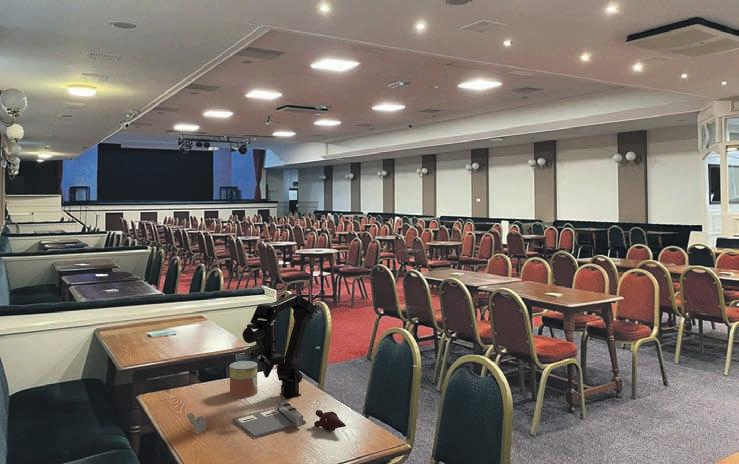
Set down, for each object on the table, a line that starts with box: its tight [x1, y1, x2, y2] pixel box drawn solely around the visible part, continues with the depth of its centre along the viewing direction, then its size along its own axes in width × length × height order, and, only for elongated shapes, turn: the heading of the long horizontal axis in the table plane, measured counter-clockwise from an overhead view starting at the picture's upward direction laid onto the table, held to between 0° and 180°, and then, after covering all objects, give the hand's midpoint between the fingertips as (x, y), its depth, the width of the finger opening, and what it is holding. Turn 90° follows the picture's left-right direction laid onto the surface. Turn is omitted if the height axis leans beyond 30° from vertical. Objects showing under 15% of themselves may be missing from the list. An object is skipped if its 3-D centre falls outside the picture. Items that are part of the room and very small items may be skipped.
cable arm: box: [277, 399, 304, 426], centre depth 203 cm, size 18×3×3 cm, turn 31°
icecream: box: [313, 409, 347, 433], centre depth 194 cm, size 7×7×15 cm
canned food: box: [229, 360, 258, 399], centre depth 230 cm, size 11×11×12 cm
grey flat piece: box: [186, 412, 207, 435], centre depth 192 cm, size 7×2×8 cm, turn 151°
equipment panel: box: [231, 406, 307, 439], centre depth 201 cm, size 20×18×1 cm
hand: (266, 377), depth 214 cm, fingers closed
